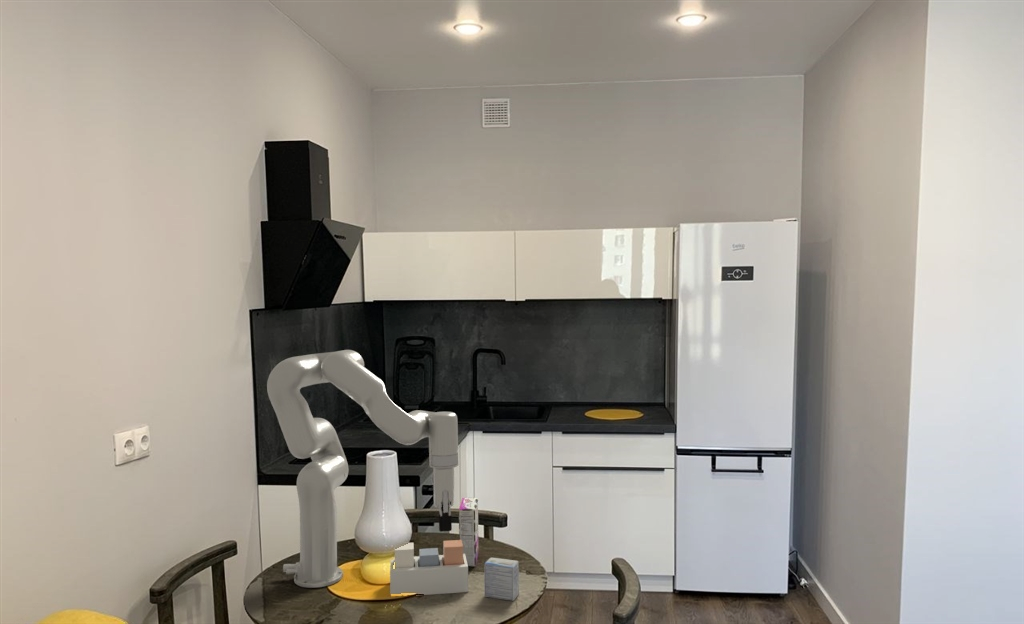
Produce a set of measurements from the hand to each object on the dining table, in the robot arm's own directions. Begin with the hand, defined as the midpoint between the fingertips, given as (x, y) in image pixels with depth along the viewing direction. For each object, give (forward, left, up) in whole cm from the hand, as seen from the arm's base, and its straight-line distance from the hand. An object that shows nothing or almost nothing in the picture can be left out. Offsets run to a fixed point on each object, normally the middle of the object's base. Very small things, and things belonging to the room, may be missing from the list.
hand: (445, 530), depth 172 cm
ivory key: (-11, 0, -10) cm, 15 cm away
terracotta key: (+2, 0, -10) cm, 10 cm away
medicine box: (+14, -8, -15) cm, 22 cm away
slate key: (-4, 0, -12) cm, 12 cm away
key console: (-4, 0, -15) cm, 15 cm away
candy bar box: (+8, +17, -15) cm, 24 cm away
